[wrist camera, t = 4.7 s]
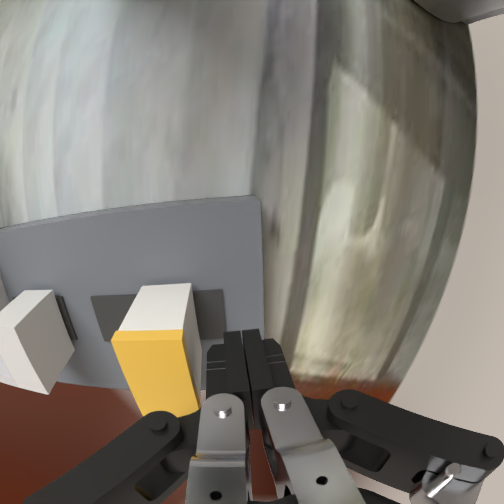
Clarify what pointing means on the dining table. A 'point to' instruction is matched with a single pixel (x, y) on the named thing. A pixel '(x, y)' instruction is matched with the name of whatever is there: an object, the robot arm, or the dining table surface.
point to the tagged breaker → (161, 350)
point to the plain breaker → (34, 340)
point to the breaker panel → (138, 273)
